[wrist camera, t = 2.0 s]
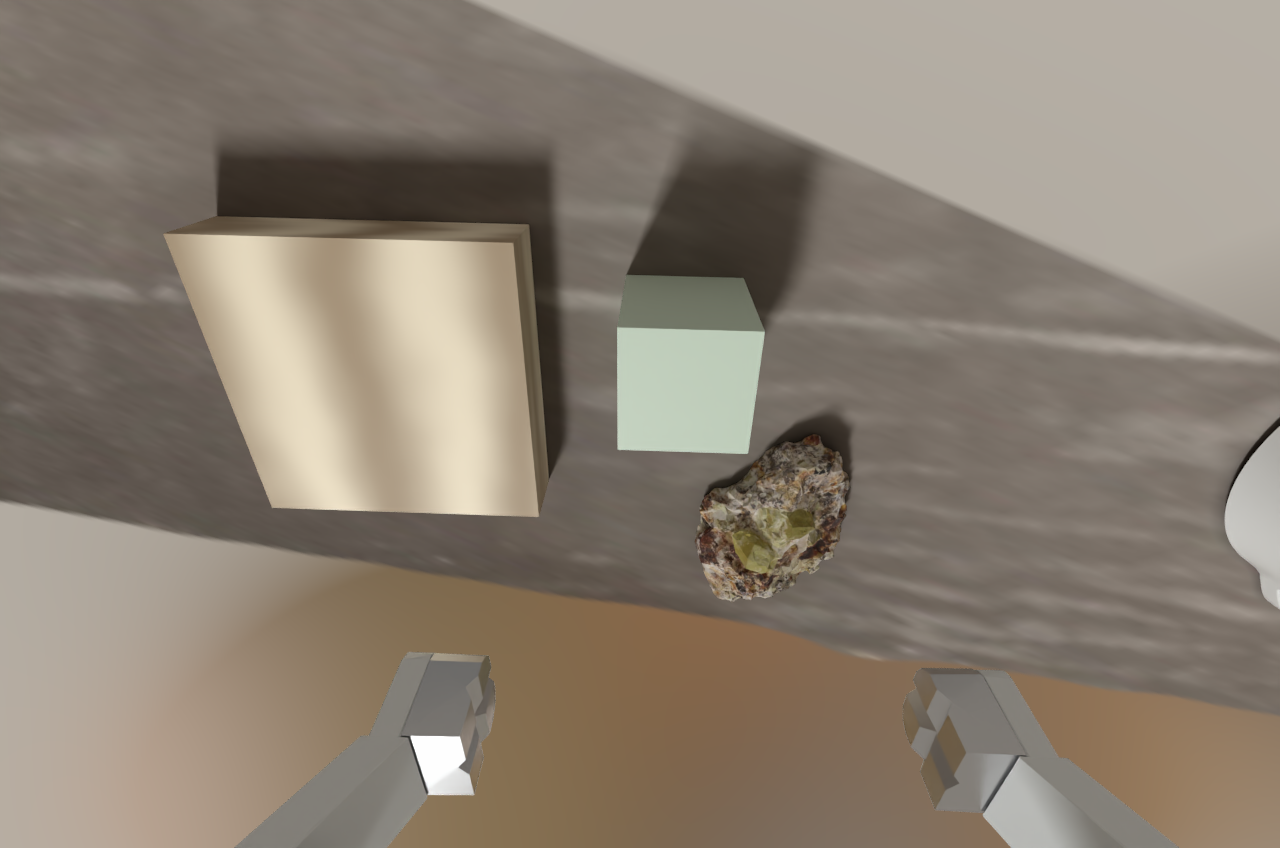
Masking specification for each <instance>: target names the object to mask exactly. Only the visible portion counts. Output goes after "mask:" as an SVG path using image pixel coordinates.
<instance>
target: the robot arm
mask: <svg viewBox="0 0 1280 848" xmlns="http://www.w3.org/2000/svg"><path fill="white" fill-rule="evenodd" d="M1225 529H1226V533H1227V536H1228V539H1229V541H1230V543H1231V545H1232V547H1233V548H1234V549H1235V550H1236V552H1237V553H1238V554H1239V555H1240V556H1241V557H1243V558H1244V559H1245V560H1246V561H1248V562H1249V563H1250V564H1251V565H1253V566H1254V567H1255V568H1256V569H1257V570H1258V572H1259V573H1260V581H1261V589H1262V593H1263V595H1264V597H1265V599H1266V600H1267V601H1269V602H1270V603H1272V604H1273V605H1274V606H1276V607H1277V608H1279V609H1280V426H1279V427H1278V428H1277V429H1276V430H1275V431H1274V432H1273V433H1272V434H1271V435H1270V436H1269V437H1268V438H1267V439H1266V440H1265V441H1264V442H1263V443H1262V445H1261V446H1260V447H1259V448H1258V449H1257V450H1256V452H1255V453H1254V454H1253V455H1252V456H1251V458H1250V459H1249V461H1248V462H1247V463H1246V465H1245V466H1244V468H1243V469H1242V471H1241V472H1240V474H1239V476H1238V478H1237V479H1236V481H1235V483H1234V485H1233V487H1232V490H1231V492H1230V495H1229V498H1228V501H1227V505H1226V511H1225ZM490 670H491V663H490V659H489V656H483V655H463V654H442V653H422V652H408V653H407V654H406V656H405V657H404V658H403V659H402V661H401V663H400V665H399V668H398V670H397V672H396V675H395V677H394V679H393V682H392V684H391V686H390V688H389V691H388V693H387V695H386V698H385V700H384V702H383V704H382V707H381V709H380V712H379V714H378V716H377V718H376V721H375V723H374V725H373V728H372V730H371V732H370V734H369V736H360V737H359V738H358V739H357V740H356V741H354V742H353V743H352V744H351V745H350V746H349V747H348V748H347V749H345V750H344V751H343V752H342V753H341V754H340V755H339V756H338V757H336V758H335V759H334V760H333V761H332V762H331V763H329V764H328V765H327V766H326V767H325V768H324V769H323V770H322V771H320V772H319V773H318V774H317V775H316V776H315V777H314V778H313V779H311V780H310V781H309V782H308V783H307V784H306V785H305V786H304V787H302V788H301V789H300V790H299V791H298V792H297V793H296V794H294V795H293V796H292V797H291V798H290V799H289V800H288V801H287V802H285V803H284V804H283V805H282V806H281V807H280V808H279V809H277V810H276V811H275V812H274V813H273V814H272V815H271V816H269V817H268V818H267V819H266V820H265V821H264V822H263V823H262V824H261V825H259V826H258V827H257V828H256V829H255V830H254V831H252V832H251V833H250V834H249V835H248V836H247V837H246V838H245V839H244V840H242V841H241V842H240V843H239V844H238V845H237V846H236V847H235V848H387V847H388V845H389V844H390V843H391V841H393V839H394V838H395V837H396V836H397V834H398V833H399V832H400V831H401V830H402V828H403V827H404V826H405V825H406V824H407V822H408V821H409V820H410V819H411V817H412V816H413V815H414V814H415V812H416V811H417V810H418V809H419V808H420V806H421V805H422V804H423V803H424V801H425V800H426V799H427V795H474V794H475V789H476V786H477V782H478V778H479V774H480V770H481V766H482V762H483V758H484V757H483V752H482V747H481V742H482V741H483V740H484V739H485V738H486V737H487V736H488V735H489V734H490V730H491V726H492V721H493V715H494V708H495V685H494V681H492V680H491V679H490V678H489V674H490ZM913 681H914V683H915V686H916V689H915V690H913V691H911V692H910V693H908V694H907V696H906V698H905V701H904V704H903V723H904V728H905V732H906V735H907V738H908V741H909V743H910V746H911V747H912V748H913V750H915V751H916V752H917V753H918V754H919V755H920V756H921V757H922V758H923V759H924V761H923V764H922V767H921V770H920V773H921V775H922V777H923V780H924V783H925V785H926V788H927V791H928V793H929V796H930V798H931V801H932V803H933V806H934V809H935V810H944V811H962V812H977V813H984V814H983V817H984V818H985V819H986V820H987V821H988V822H989V823H990V824H991V826H992V827H993V828H994V829H995V830H996V831H997V832H998V833H999V834H1000V836H1001V837H1002V838H1003V839H1004V840H1005V841H1006V842H1007V843H1008V844H1009V846H1010V847H1011V848H1179V847H1178V846H1176V845H1175V844H1174V843H1173V842H1172V841H1170V840H1169V839H1168V838H1166V837H1165V836H1164V835H1163V834H1162V833H1160V832H1159V831H1158V830H1157V829H1155V828H1154V827H1153V826H1152V825H1150V824H1149V823H1148V822H1147V821H1145V820H1144V819H1143V818H1141V817H1140V816H1139V815H1138V814H1136V813H1135V812H1134V811H1133V810H1131V809H1130V808H1129V807H1128V806H1126V805H1125V804H1124V803H1123V802H1121V801H1120V800H1119V799H1118V798H1117V797H1115V796H1114V795H1113V794H1112V793H1110V792H1109V791H1108V790H1107V789H1105V788H1104V787H1103V786H1102V785H1100V784H1099V783H1098V782H1096V781H1095V780H1094V779H1093V778H1091V777H1090V776H1089V775H1088V774H1087V773H1085V772H1084V771H1083V770H1082V769H1080V768H1079V767H1078V766H1076V765H1075V764H1074V763H1073V762H1072V761H1070V760H1069V759H1068V758H1059V757H1058V755H1057V753H1056V752H1055V750H1054V748H1053V747H1052V745H1051V743H1050V742H1049V740H1048V738H1047V737H1046V735H1045V733H1044V732H1043V730H1042V728H1041V727H1040V725H1039V723H1038V722H1037V720H1036V718H1035V717H1034V715H1033V713H1032V712H1031V710H1030V708H1029V707H1028V705H1027V703H1026V702H1025V700H1024V699H1023V697H1022V695H1021V693H1020V692H1019V690H1018V689H1017V687H1016V685H1015V683H1014V682H1013V680H1012V678H1011V677H1010V676H1009V675H1008V674H1007V673H1006V672H1005V671H1001V670H973V669H952V668H947V669H946V668H921V669H920V670H918V671H917V672H916V674H915V676H914V679H913Z"/></svg>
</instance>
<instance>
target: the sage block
mask: <svg viewBox="0 0 1280 848" xmlns="http://www.w3.org/2000/svg"><path fill="white" fill-rule="evenodd" d="M764 334H765V331H764V328H763V326H762V323H761V321H760V318H759V316H758V313H757V311H756V308H755V306H754V303H753V301H752V298H751V296H750V293H749V291H748V288H747V285H746V283H745V280H744V278H725V277H688V276H652V275H626V280H625V285H624V291H623V297H622V303H621V309H620V315H619V321H618V327H617V377H618V450H645V451H676V452H707V453H738V454H748V450H749V442H750V435H751V428H752V421H753V414H754V406H755V399H756V392H757V385H758V377H759V370H760V363H761V356H762V349H763V341H764Z"/></svg>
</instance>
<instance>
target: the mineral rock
mask: <svg viewBox="0 0 1280 848" xmlns="http://www.w3.org/2000/svg"><path fill="white" fill-rule="evenodd" d="M820 437H821V436H819V435H815V434H813V435H811V436H808V437H806V438H804V439H803V440H802V441H799V442H797V443H791V442H788V441H785V442H783V443H781V444H778V445H777V446H775V447H772V448H771V450H768V451H766V452H765V453H764V455H763V456H762V457H761V458H760V459H759V460H758V461H756V462H754V464H753V465H752V467H751V468H750V471H749V473H748V474H746V475H745V476H744V477H743V478H742V479H741V480H740V481H739V482H738V483H736V484H734V485H731V486H729V487H727V488H716V487H715V488H714V489H713V490H712V491H711V492H710V493H709V494H708V495H706V496H704V499H703V501H702V503H703V504H702V505H701V506H700V509H701V510H700V513H701V524H700V525H698V529H697V530H698V531H697V533H696V539H695V544H696V548H697V551H698V554H699V558H700V561H701V563H702V564H703V571H704V573H705V575H706V577H707V579H708V582H709V584H710V586H711V588H712V591H713V593H714V594H715V595H716V596H717V597H718V598H720V599H727V600H730V601H731V602H733V601H735V600H736V599H738V598H740V597H741V598H744V599H747V600H752V598H753V597H756V596H758V597H763V598H767V597H770V596H771V597H773V595H774V594H775V593H779V592H780V591H783V590H785V589H788V588H789V587H790V586H793V585H794V584H796V578H797V577H798V575H799V573H801V572H803V571H808V572H809V573H810V574H811V573H814V572H815V571H816V570H818V569H819V568H820V567H819V566H818V565H819V562H820V561H822V560H827V559H830V558H832V557H834V548H835V547H836V544H837V542H839V539H840V534H839V533H840V532H841V528H840V527H839V525H840V524H841V521H842V520H843V519H844V517H845V516H846V514H845V512H846V511H847V508H846V504H845V494H846V493H847V492H848V490H849V488H850V484H849V480H848V479H849V477H848V474H846V472H845V471H843V470H842V464H843V462H842V457H841V456H840V452H838V451H831V449H829V448H827V447H824V446H823V444H822V441H821V438H820Z"/></svg>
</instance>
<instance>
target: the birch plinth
mask: <svg viewBox="0 0 1280 848" xmlns="http://www.w3.org/2000/svg"><path fill="white" fill-rule="evenodd" d="M164 237H165V239H166V242H167V244H168V247H169V249H170V252H171V254H172V257H173V259H174V262H175V264H176V267H177V269H178V272H179V275H180V277H181V280H182V282H183V285H184V287H185V290H186V292H187V295H188V297H189V300H190V302H191V305H192V307H193V310H194V312H195V315H196V317H197V320H198V322H199V325H200V327H201V330H202V332H203V335H204V337H205V340H206V342H207V345H208V347H209V350H210V352H211V355H212V357H213V360H214V362H215V365H216V368H217V370H218V373H219V375H220V378H221V380H222V383H223V385H224V388H225V390H226V393H227V395H228V398H229V400H230V403H231V405H232V408H233V410H234V413H235V415H236V418H237V420H238V423H239V425H240V428H241V430H242V433H243V435H244V438H245V440H246V443H247V445H248V448H249V450H250V453H251V455H252V458H253V461H254V463H255V466H256V468H257V471H258V473H259V476H260V478H261V481H262V483H263V486H264V488H265V491H266V493H267V496H268V498H269V501H270V503H271V506H272V508H297V509H326V510H355V511H384V512H413V513H442V514H471V515H500V516H529V517H539V514H540V511H541V507H542V503H543V500H544V496H545V492H546V489H547V485H548V482H549V472H548V459H547V447H546V434H545V421H544V408H543V396H542V383H541V370H540V357H539V345H538V332H537V319H536V306H535V294H534V281H533V268H532V255H531V243H530V230H529V224H495V223H457V222H418V221H379V220H340V219H302V218H263V217H224V216H216V217H213V218H209V219H206V220H203V221H200V222H197V223H194V224H191V225H188V226H185V227H182V228H179V229H176V230H173V231H170V232H167V233H164Z"/></svg>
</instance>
